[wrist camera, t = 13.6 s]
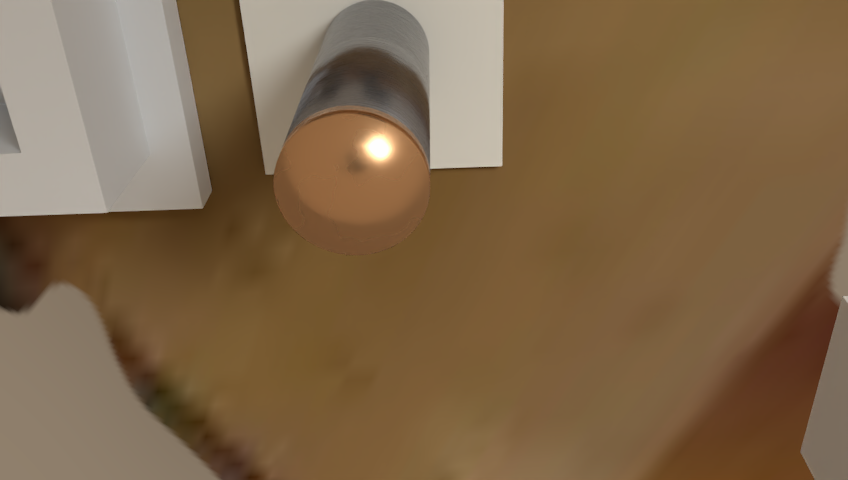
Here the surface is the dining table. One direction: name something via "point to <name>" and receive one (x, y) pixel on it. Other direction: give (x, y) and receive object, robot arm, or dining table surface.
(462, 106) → the pad
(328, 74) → the copper top metal cylinder
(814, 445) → the robot arm
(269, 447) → the dining table surface
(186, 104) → the housing
